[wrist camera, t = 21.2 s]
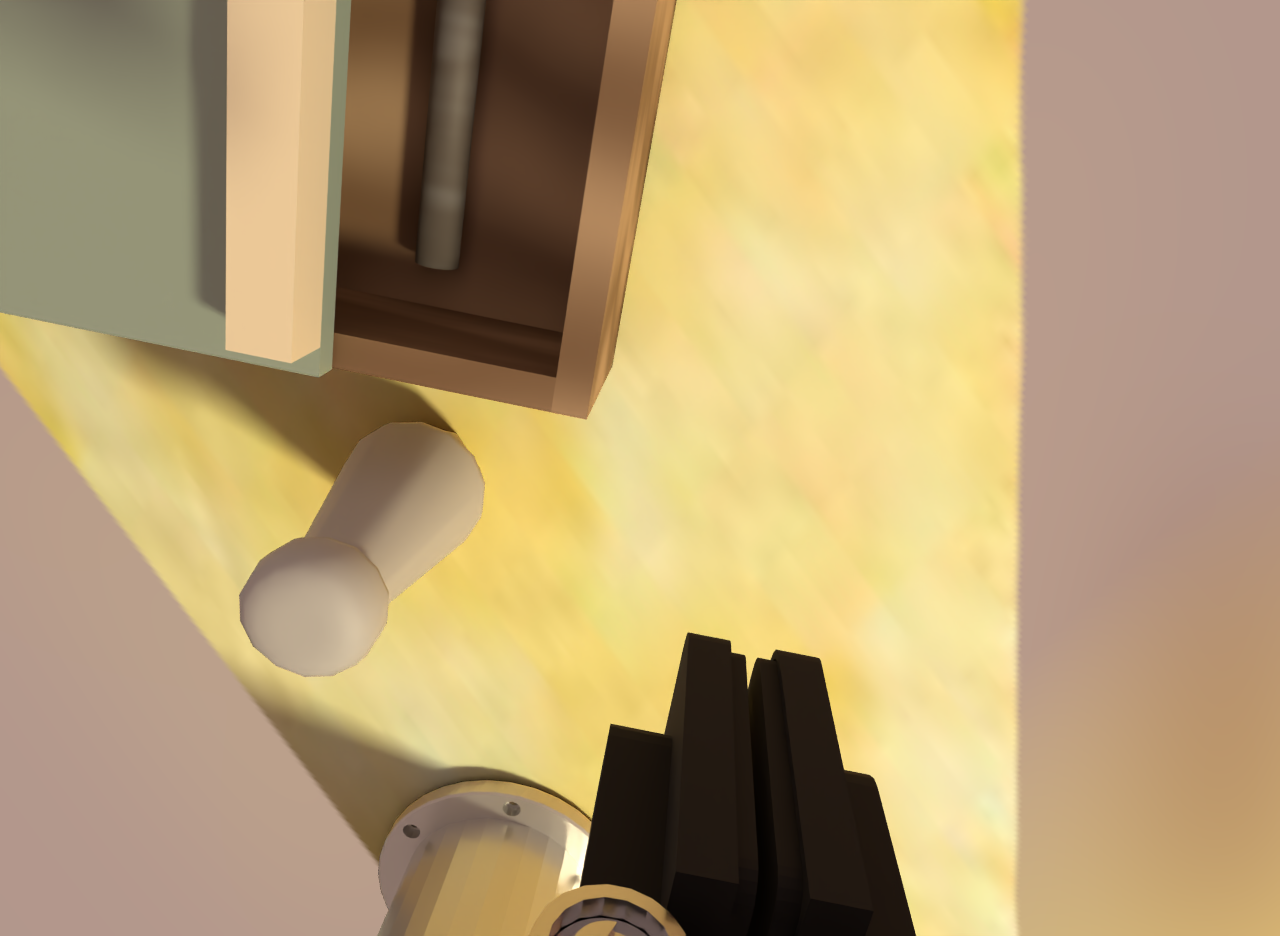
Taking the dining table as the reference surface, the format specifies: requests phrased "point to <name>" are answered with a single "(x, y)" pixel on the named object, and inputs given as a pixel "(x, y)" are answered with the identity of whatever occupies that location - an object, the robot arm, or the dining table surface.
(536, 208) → the toolbox
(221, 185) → the lid
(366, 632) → the salt shaker
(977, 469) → the dining table surface
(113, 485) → the dining table surface
